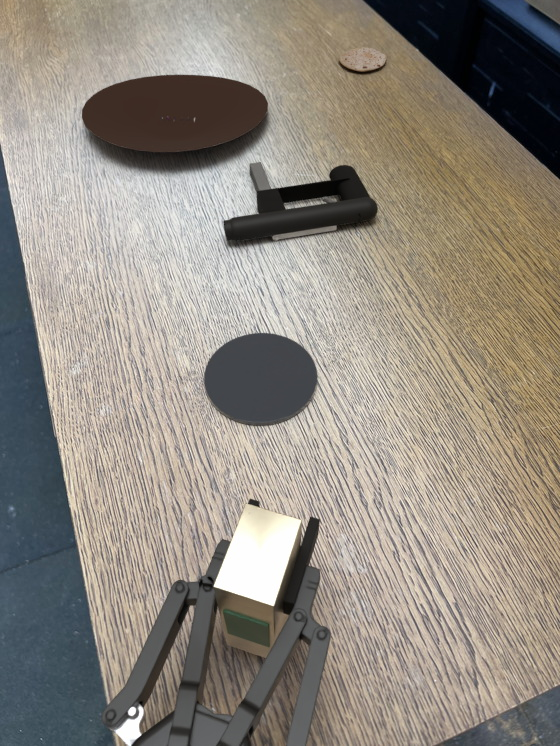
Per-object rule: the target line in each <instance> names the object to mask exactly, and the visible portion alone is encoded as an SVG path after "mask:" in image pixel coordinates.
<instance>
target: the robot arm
mask: <svg viewBox="0 0 560 746" xmlns="http://www.w3.org/2000/svg"><path fill="white" fill-rule="evenodd" d="M247 504H251V505H254V506H257V507H260V506H261V505H260V500H256V499H253V498H249V500H248V502H247ZM320 522H321V518H317V517H314V516H309V519H308V522H307V525H306V528H305V531H304V535H303V538H302V540H301V547H300V551H299V554H298V557H297V560H296V563H295V566H294V570H293V573H292V576H291V579H290V582H289V585H288V588H287V592H286V595H285V598H284V611H283V613H284V614H287V615H289V617H288V619H287V621H286V622H285V624H284V626H283V628H282V630H281V631H280V633H279V635H278V637H277V639H276V641H275V642H274V644H273V646H272V648H271V650H270V652H269V653H268V655H267V657H266V658H264V661H263V663H262V664H261V666H260V668H259V670H258V671H257V673H256V675H255V678H254V679H253V681H252V683H251V685H250V686H249V688H248V690H247V692H246V694H245V695H244V697H243V699H242V700H241V701H240V702H239V704H238V706H237V708H236V710H235V711H234V713H233V715H231V714H229V713H215V712H213V711H212V710H211V709H209V708H208V707H207V706H206V705H204V704H203V703H204V692H205V685H206V679H207V673H208V668H209V661H210V656H211V651H212V650H211V649H212V644H213V638H214V632H215V625H216V619H217V613H218V609H219V608H218V604H217V600H216V596H215V592H214V588H213V586H214V583H215V581H216V578H217V575H218V573H219V570H220V568H221V565H222V563H223V560H224V557H225V555H226V552H227V550H228V547H229V545H230V542H231V540H227V539H224V538H222V539H221V540H220V541H219V542H218V543H217V545H216V547H215V549H214V552H213V554H212V557H211V560H210V562H209V565H208V567H207V570H206V572H205V574H204V575H202V576H201V577H200V578H198V580H196V581H186V580H184V579H177V580H176V581H174V582H173V584H172V585H171V587H170V589H169V591H168V593H167V596H166V597H165V600H164V602H163V604H162V606H161V609H160V610H159V613H158V615H157V617H156V619H155V620H154V623H153V625H152V628H151V630H150V632H149V634H148V636H147V638H146V640H145V641H144V642H145V643H144V644H143V647H142V649H141V651H140V653H139V655H138V657H137V660H136V662H135V664H134V665H133V668H132V670H131V672H130V674H129V676H128V679H127V680H126V683H125V685H124V686H123V688H122V689H120V691H119V692H118V693H117V694H116V695H115V696H114V698H113V699H111V701H110V702H109V703H108V704H107V705H106V706H105V707H104V709H103V710H102V712H101V715H100V720H101V722H102V724H103V725H104V726H105V727H106V728H107V729H109V730H110V731H111V732H112V733H113V734H116V735H117V736H118V737H119V738H120V739H121V740H122V741H123V742H124V744H125V745H126V746H253V743H252V737H253V735H254V734H255V731H256V730H257V728H258V725H259V723H260V721H261V718H262V716H263V714H264V712H265V710H266V709H267V706H268V704H269V703H270V701H271V699H272V697H273V695H274V693H275V691H276V689H277V688H278V685H279V684H280V682H281V680H282V679H283V676H284V675H285V673H286V670H287V668H288V667H289V664H290V663H291V660H292V659H293V657H294V656H295V653H296V651H297V649H298V648H299V646H300V644H301V642H304V643H305V644H307V645H308V646H309V648H308V651H307V655H306V660H305V664H304V667H303V672H302V677H301V680H300V684H299V688H298V693H297V696H296V700H295V705H294V708H293V712H292V717H291V720H290V725H289V729H288V734H287V737H286V741H285V746H307V745H308V741H309V736H310V732H311V727H312V724H313V719H314V713H315V709H316V705H317V701H318V697H319V693H320V692H319V691H320V688H321V683H322V680H323V675H324V670H325V666H326V662H327V661H326V660H327V656H328V652H329V647H330V642H331V637H332V633H331V630H330V628H328V627H327V626H325V625H321V624H320V623H319V622H317V621H316V620H315V619H314V617H313V616H312V611H313V607H314V603H315V601H316V597H317V594H318V590H319V586H320V584H321V583H320V582H321V569H320V568H319V567H315V566H312V565H311V564H310V563H311V560H312V556H313V554H314V550H315V547H316V543H317V540H318V537H319V533H320ZM192 606H194V611H193V617H192V622H191V627H190V628H191V629H190V633H189V638H188V643H187V649H186V654H185V659H184V665H183V670H182V676H181V680H180V682H179V685H178V689H177V695H176V700H175V705H174V709H173V710H171V712H170V713H168V714H167V715H166V716H164V717H163V718H161V719H160V720H159V721H158V722H156V723H155V724H154V725H153V726H151V727H150V728H148V729H147V730H145V732H142V731H143V730H142V729H143V724H144V723H145V721H146V717H147V712H146V710H145V708H144V707H146V704H147V703H148V702H149V699H150V698H151V696H152V693H153V691H154V689H155V686H156V685H157V682H158V680H159V679H160V678H159V677H160V675H161V673H162V671H163V669H164V666H165V664H166V662H167V660H168V658H169V655H170V653H171V650H172V649H173V646H174V644H175V641H176V640H177V637H178V635H179V633H180V630H181V628H182V626H183V623H184V621H185V619H186V617H187V614H188V612H189V610H190V608H191V607H192Z"/></svg>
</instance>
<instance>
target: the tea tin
mask: <svg viewBox="0 0 560 746" xmlns="http://www.w3.org/2000/svg"><path fill="white" fill-rule="evenodd" d="M302 529H303V519H301V518H297V517H294V516H291V515H287V514H284V513H281V512H278V511H277V512H276V511H274V510H270V509H267V508H264V507H257V506H254V505H251V504H248V502H245V503H244V505H243V509H242V511H241V514H240V515H239V518H238V522H237V524H236V527H235V529H234V532H233V535H232V537H231V539H230V541H231V542H230V545H229V547H228V550H227V552H226V555H225V557H224V560H223V563H222V565H221V568H220V570H219V573H218V575H217V578H216V581H215V583H214V586H213V588H214V592H215V596H216V600H217V604H218V608H217V609H218V612H219V613H218V614H219V616H220V621H221V624H222V629H223V633H224V637H225V641H226V645H227V646H228V647H229V646H230V647H232V648H234V649H235V648H236V649H238V650H241V651H244V652H247V653H249V654H253V655H256V656H259V657H261V658H264V659H266V657H267V655H268V653H269V652H270V650H271V648H272V646H273V644H274V642H275V641H276V639H277V637H278V635H279V633H280V631H281V630H282V628H283V626H284V624H285V622H286V621H287V619H288V617H289V615H287V614H284V613H283V611H284V598H285V595H286V592H287V588H288V585H289V582H290V579H291V576H292V573H293V570H294V566H295V563H296V560H297V557H298V554H299V551H300V547H301V544H302V531H303V530H302Z"/></svg>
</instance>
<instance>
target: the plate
mask: <svg viewBox="0 0 560 746" xmlns="http://www.w3.org/2000/svg"><path fill="white" fill-rule="evenodd" d="M268 112H269V102H268V100H267V98H266V96H265V95H264V94H263V93H262V92H261V91H260V90H259V89H257V88H256V87H254V86H253V85H250V84H248V83H245V82H242V81H239V80H235V79H230V78H228V77H227V78H226V77H221V76H214V75H213V76H212V75H203V74H202V75H200V74H159V75H150V76H142V77H138V78H137V77H136V78H132V79H127V80H123V81H119V82H117V83H114V84H111V85H109V86H107V87H104V88H102V89H100V90H99V91H97V92H95V93H94V94H93V95H91V96H90V97H89V98H88V99H87V100H86V101H85V102H84V105H83V107H82V109H81V120H82V122H83V124H84V127H85V128H86V129H88V130H89V132H91V134H93V135H94V136H96V137H97V138H98V139H101V140H102V141H104V142H106V143H109V144H111V145H115V146H117V147H120V148H124V149H125V148H126V149H130V150H132V151H133V150H134V151H141V152H150V153H151V152H152V153H179V152H189V151H196V150H203V149H206V148H211V147H216V146H218V145H221V144H222V145H223V144H226V143H228V142H231V141H234V140H235V139H238V138H239V137H241V136H244V135H246V134H247V133H249V132H250V131H252V130H253V129H254V128H256V127H258V126H259V124H260V123H261V122H262V121H264V119H265V118H266V115H267V113H268Z"/></svg>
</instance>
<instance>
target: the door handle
mask: <svg viewBox="0 0 560 746" xmlns="http://www.w3.org/2000/svg"><path fill="white" fill-rule="evenodd" d="M248 165H249V176H250V178H251V181H252V183H253V186H254V189H255V191H256V207H257V212H258V213H253V214H247V215H240V216H233V217H230V218H229V219H225V220H223V222H222V223H223V231H224V236H225V240H226V241H232V242H242V241H248V240H254V239H262V238H267V237H271V238H272V240H273V241H275V242H277V241H279V240H283V239H289V238H295V237H302V236H307V235H313V234H314V235H315V234H320V233H326V232H327V233H328V232H332V231H333V232H334V231H337V228H338V227H337V226H343V225H351V224H357V223H360V225H361V226H362V225H363V224H362V222H369V221H371V220H373V219H374V218H375V217H376V216H377V213H378V210H379V209H378V203H377V202H376V200H375V199H373V198H372V197H371V196H370V193H369V192H368V190H367V188H366V187H365V185H364V184H363V182H362V179H361V178H360V176H359V174H358V173H357V171H356V169H355V168H354V167H353V166H351V165H348V164H341V165H337V166H335V167H333V168H332V169H331V170H330V171H329V175H328V176H329V180H322V181H315V182H309V183H301V184H295V185H289V186H281V187H275V188H272V186H271V184H270V182H269V181H270V180H269V179H268V176H267V174H266V171H265V169H264V167H263V163H262V161H258V162H250V163H249V164H248ZM334 196H338V197H339V199H340V200H338V201H335V200H334V199H332V198H330V197H334ZM316 199H322V202H324V203H319V204H318V203H317V204H311V205H306V206H299V207H293V208H292V207H291V208H287V209H286V206H285V204H289V203H295V202H302V201H309V200H316Z"/></svg>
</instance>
